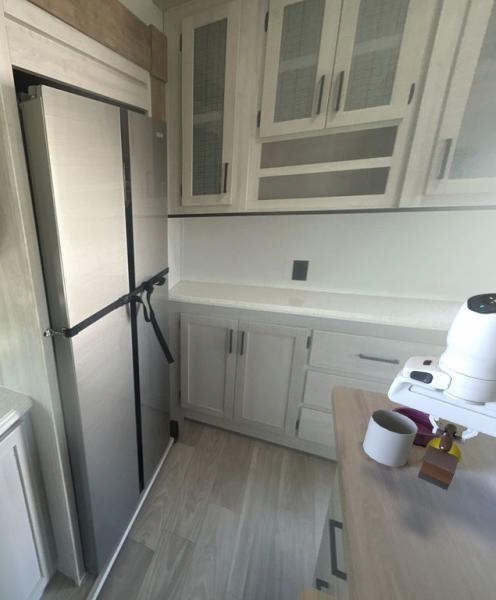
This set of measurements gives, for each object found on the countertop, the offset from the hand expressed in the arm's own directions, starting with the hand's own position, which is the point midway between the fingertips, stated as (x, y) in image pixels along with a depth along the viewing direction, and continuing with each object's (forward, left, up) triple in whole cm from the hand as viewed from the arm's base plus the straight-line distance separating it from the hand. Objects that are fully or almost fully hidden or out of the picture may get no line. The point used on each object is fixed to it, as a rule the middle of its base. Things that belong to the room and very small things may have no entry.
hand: (447, 436), depth 66 cm
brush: (0, +4, -4) cm, 5 cm away
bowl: (+6, -20, -16) cm, 27 cm away
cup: (+9, -7, -17) cm, 20 cm away
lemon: (0, -11, -17) cm, 20 cm away
